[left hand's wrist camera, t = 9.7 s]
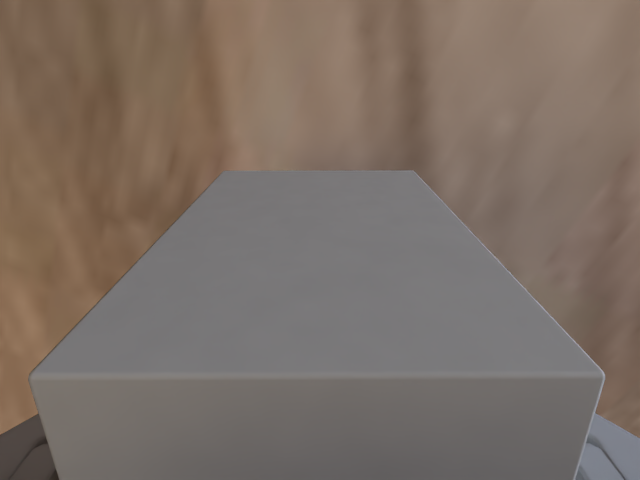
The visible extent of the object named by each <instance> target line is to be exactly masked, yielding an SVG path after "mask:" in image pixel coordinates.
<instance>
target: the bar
mask: <svg viewBox="0 0 640 480" xmlns="http://www.w3.org/2000/svg"><path fill="white" fill-rule="evenodd" d="M28 381H29V384H30V387H31V391H32V394H33V397H34V400H35V403H36V407H37V410H38V413H39V416H40V419H41V423H42V426H43V429H44V432H45V435H46V439H47V442H48V445H49V448H50V451H51V455H52V458H53V461H54V464H55V468H56V471H57V474H58V477H59V480H575V478H576V474H577V471H578V468H579V464H580V461H581V458H582V454H583V451H584V448H585V444H586V441H587V438H588V434H589V431H590V428H591V424H592V421H593V418H594V414H595V411H596V408H597V404H598V401H599V398H600V394H601V391H602V388H603V384H604V381H605V374H604V372H603V371H602V370H601V368H600V367H599V366H598V365H597V364H596V363H595V362H594V361H593V360H592V359H591V358H590V357H589V356H588V355H587V354H586V353H585V352H584V350H583V349H582V348H581V347H580V346H579V345H578V344H577V343H576V342H575V341H574V340H573V339H572V338H571V337H570V336H569V335H568V334H567V332H566V331H565V330H564V329H563V328H562V327H561V326H560V325H559V324H558V323H557V322H556V321H555V320H554V319H553V318H552V317H551V316H550V314H549V313H548V312H547V311H546V310H545V309H544V308H543V307H542V306H541V305H540V304H539V303H538V302H537V301H536V300H535V299H534V298H533V297H532V295H531V294H530V293H529V292H528V291H527V290H526V289H525V288H524V287H523V286H522V285H521V284H520V283H519V282H518V281H517V280H516V279H515V277H514V276H513V275H512V274H511V273H510V272H509V271H508V270H507V269H506V268H505V267H504V266H503V265H502V264H501V263H500V262H499V261H498V259H497V258H496V257H495V256H494V255H493V254H492V253H491V252H490V251H489V250H488V249H487V248H486V247H485V246H484V245H483V244H482V243H481V241H480V240H479V239H478V238H477V237H476V236H475V235H474V234H473V233H472V232H471V231H470V230H469V229H468V228H467V227H466V226H465V225H464V223H463V222H462V221H461V220H460V219H459V218H458V217H457V216H456V215H455V214H454V213H453V212H452V211H451V210H450V209H449V208H448V207H447V206H446V204H445V203H444V202H443V201H442V200H441V199H440V198H439V197H438V196H437V195H436V194H435V193H434V192H433V191H432V190H431V189H430V188H429V186H428V185H427V184H426V183H425V182H424V181H423V180H422V179H421V178H420V177H419V176H418V175H417V174H416V173H415V172H414V171H413V170H386V171H223V172H222V173H221V174H220V175H219V176H218V177H217V178H216V179H215V180H214V181H213V182H212V184H211V185H210V186H209V187H208V188H207V189H206V190H205V191H204V192H203V193H202V194H201V195H200V196H199V197H198V198H197V199H196V200H195V201H194V202H193V203H192V204H191V205H190V206H189V208H188V209H187V210H186V211H185V212H184V213H183V214H182V215H181V216H180V217H179V218H178V219H177V220H176V221H175V222H174V223H173V224H172V225H171V226H170V227H169V228H168V229H167V231H166V232H165V233H164V234H163V235H162V236H161V237H160V238H159V239H158V240H157V241H156V242H155V243H154V244H153V245H152V246H151V247H150V248H149V249H148V250H147V251H146V252H145V253H144V255H143V256H142V257H141V258H140V259H139V260H138V261H137V262H136V263H135V264H134V265H133V266H132V267H131V268H130V269H129V270H128V271H127V272H126V273H125V274H124V275H123V276H122V277H121V279H120V280H119V281H118V282H117V283H116V284H115V285H114V286H113V287H112V288H111V289H110V290H109V291H108V292H107V293H106V294H105V295H104V296H103V297H102V298H101V299H100V300H99V302H98V303H97V304H96V305H95V306H94V307H93V308H92V309H91V310H90V311H89V312H88V313H87V314H86V315H85V316H84V317H83V318H82V319H81V320H80V321H79V322H78V323H77V324H76V326H75V327H74V328H73V329H72V330H71V331H70V332H69V333H68V334H67V335H66V336H65V337H64V338H63V339H62V340H61V341H60V342H59V343H58V344H57V345H56V346H55V347H54V348H53V350H52V351H51V352H50V353H49V354H48V355H47V356H46V357H45V358H44V359H43V360H42V361H41V362H40V363H39V364H38V365H37V366H36V367H35V368H34V369H33V370H32V371H31V373H30V374H29V377H28Z"/></svg>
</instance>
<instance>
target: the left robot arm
mask: <svg viewBox="0 0 640 480" xmlns="http://www.w3.org/2000/svg"><path fill="white" fill-rule="evenodd" d="M0 480H59V477H58V474H57V471H56V468H55V464H54V461H53V458H52V455H51V451H50V448H49V445H48V442H47V439H46V435H45V432H44V429H43V426H42V423H41V419H40V416H39V414H37V415H35V416H33V417H32V418H30V419H28V420H26V421H25V422H23V423H21V424H19V425H17V426H16V427H14V428H12V429H10V430H8V431H7V432H5V433H3V434H1V435H0ZM575 480H640V438H638V437H636V436H635V435H633V434H631V433H629V432H627V431H626V430H624V429H622V428H620V427H619V426H617V425H615V424H613V423H612V422H610V421H608V420H606V419H605V418H603V417H601V416H599V415H597V414H596V413H595V414H594V418H593V421H592V424H591V428H590V431H589V434H588V438H587V441H586V444H585V448H584V451H583V454H582V458H581V461H580V464H579V468H578V471H577V474H576V478H575Z"/></svg>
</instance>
